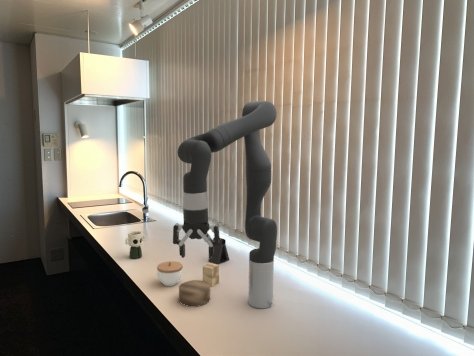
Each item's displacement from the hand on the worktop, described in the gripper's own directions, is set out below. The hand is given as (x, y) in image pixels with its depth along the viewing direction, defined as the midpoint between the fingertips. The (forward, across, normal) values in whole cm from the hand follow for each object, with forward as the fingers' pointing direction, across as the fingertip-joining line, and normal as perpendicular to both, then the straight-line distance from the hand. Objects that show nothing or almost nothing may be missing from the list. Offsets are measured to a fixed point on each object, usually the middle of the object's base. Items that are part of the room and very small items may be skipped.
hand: (196, 257), depth 109 cm
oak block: (+26, +2, -38) cm, 46 cm away
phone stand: (+27, +3, -65) cm, 70 cm away
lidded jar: (+26, +20, -36) cm, 49 cm away
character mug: (+26, +46, -65) cm, 84 cm away
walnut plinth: (+26, +6, -23) cm, 35 cm away
